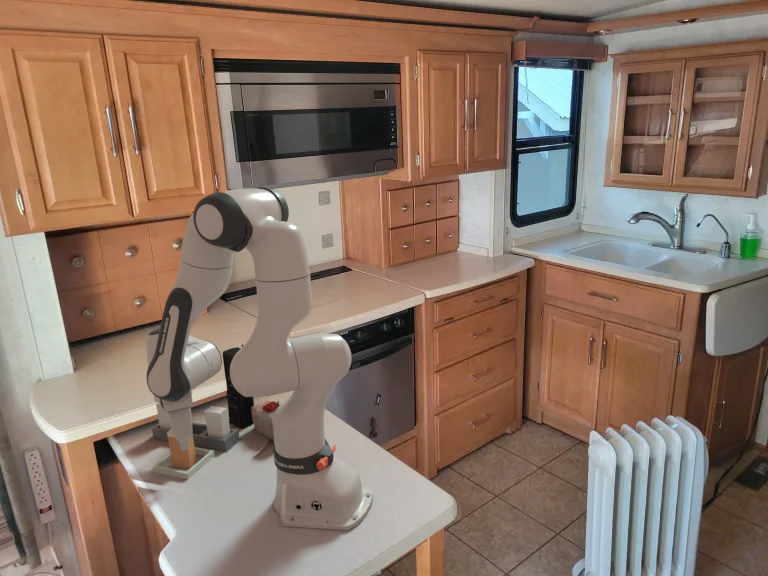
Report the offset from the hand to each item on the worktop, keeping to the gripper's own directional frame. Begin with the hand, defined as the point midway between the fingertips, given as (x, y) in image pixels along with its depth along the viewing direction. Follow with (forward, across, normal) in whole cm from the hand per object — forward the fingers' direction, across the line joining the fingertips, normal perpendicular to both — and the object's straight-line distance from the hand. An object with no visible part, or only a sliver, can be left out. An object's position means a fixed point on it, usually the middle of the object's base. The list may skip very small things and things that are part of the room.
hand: (181, 440), depth 142 cm
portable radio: (+8, -14, +18) cm, 25 cm away
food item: (+8, -4, +25) cm, 26 cm away
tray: (+8, 0, 0) cm, 8 cm away
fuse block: (+8, -12, +5) cm, 15 cm away
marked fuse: (+7, 0, 0) cm, 7 cm away
